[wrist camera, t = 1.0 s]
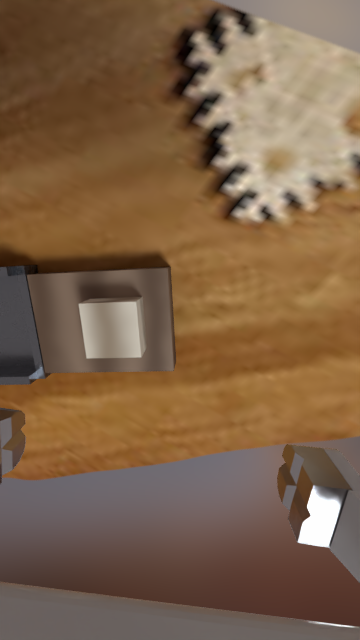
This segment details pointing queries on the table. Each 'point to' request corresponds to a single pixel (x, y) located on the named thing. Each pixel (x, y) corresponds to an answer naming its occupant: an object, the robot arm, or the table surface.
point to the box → (18, 329)
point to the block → (113, 327)
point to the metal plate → (78, 286)
